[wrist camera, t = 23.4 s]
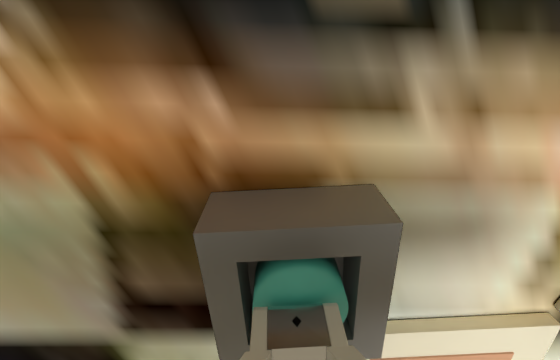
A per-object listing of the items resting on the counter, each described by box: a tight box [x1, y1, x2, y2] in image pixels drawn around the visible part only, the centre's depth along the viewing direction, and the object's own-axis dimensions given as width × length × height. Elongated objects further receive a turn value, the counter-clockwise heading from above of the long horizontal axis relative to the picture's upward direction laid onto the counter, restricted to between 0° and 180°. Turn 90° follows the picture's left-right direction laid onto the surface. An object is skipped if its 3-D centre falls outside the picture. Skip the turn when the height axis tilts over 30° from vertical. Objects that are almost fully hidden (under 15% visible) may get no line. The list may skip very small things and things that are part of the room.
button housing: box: [193, 184, 403, 360], centre depth 12 cm, size 7×7×3 cm
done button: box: [252, 258, 349, 323], centre depth 11 cm, size 4×4×2 cm
